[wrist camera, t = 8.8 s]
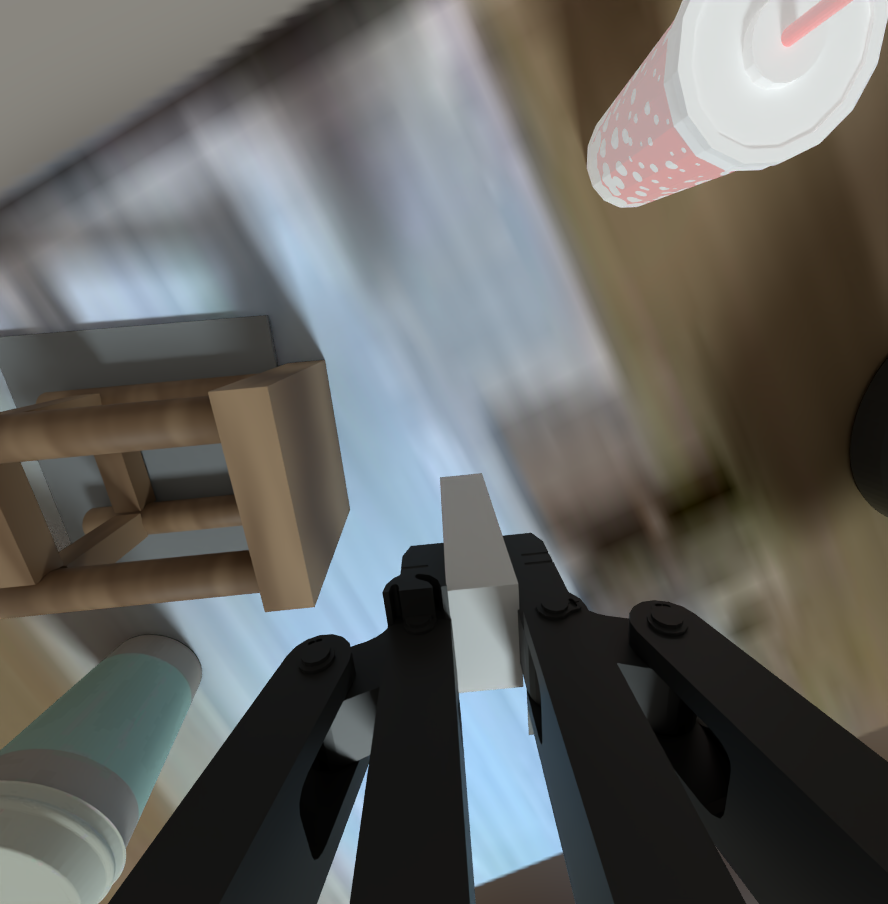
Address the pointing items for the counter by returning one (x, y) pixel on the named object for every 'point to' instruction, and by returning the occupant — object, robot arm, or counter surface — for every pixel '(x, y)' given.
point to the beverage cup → (734, 93)
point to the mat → (139, 362)
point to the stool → (137, 515)
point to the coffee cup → (90, 773)
